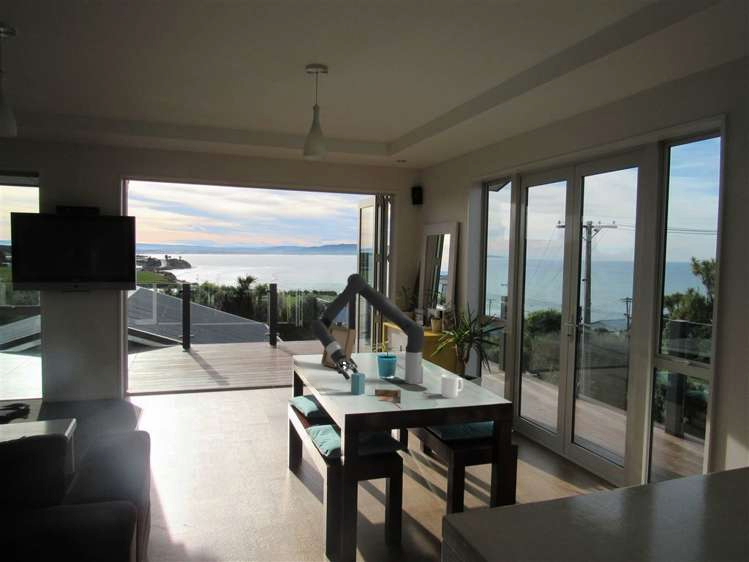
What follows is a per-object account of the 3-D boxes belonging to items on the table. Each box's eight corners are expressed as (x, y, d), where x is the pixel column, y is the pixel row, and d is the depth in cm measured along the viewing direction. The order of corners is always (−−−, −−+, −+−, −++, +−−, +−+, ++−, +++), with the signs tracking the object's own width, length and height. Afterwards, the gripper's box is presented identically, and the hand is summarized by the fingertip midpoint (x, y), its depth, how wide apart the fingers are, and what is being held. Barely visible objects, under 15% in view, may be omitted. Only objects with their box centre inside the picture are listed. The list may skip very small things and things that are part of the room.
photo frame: (342, 371, 326) (343, 329, 325) (320, 365, 343) (322, 325, 341) (361, 369, 336) (362, 328, 334) (340, 362, 352) (341, 323, 351)
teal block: (356, 391, 283) (356, 372, 282) (364, 393, 280) (365, 373, 279) (350, 393, 278) (351, 374, 278) (358, 395, 276) (359, 375, 275)
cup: (438, 394, 281) (438, 375, 280) (458, 392, 285) (459, 373, 285) (446, 399, 273) (447, 378, 272) (467, 396, 278) (468, 377, 277)
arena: (373, 402, 264) (373, 395, 264) (374, 394, 277) (375, 389, 277) (400, 403, 264) (400, 397, 263) (400, 395, 277) (400, 390, 276)
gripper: (331, 349, 278) (349, 375, 273) (348, 345, 290) (365, 370, 285) (323, 358, 281) (340, 384, 276) (340, 354, 293) (357, 379, 288)
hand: (353, 377), depth 280 cm, fingers open, 8 cm apart
